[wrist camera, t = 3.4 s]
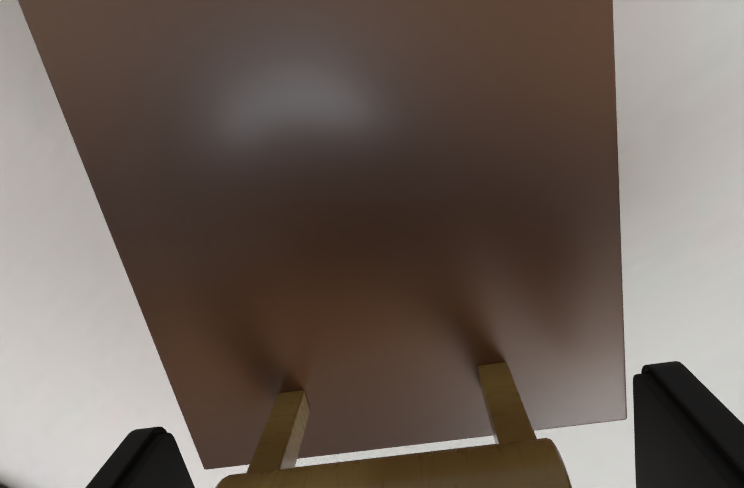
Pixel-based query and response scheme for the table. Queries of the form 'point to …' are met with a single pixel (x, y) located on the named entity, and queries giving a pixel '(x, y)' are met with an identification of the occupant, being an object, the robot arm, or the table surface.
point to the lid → (360, 223)
